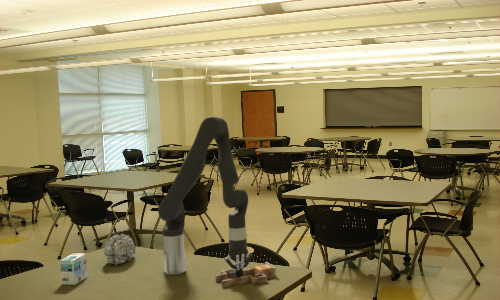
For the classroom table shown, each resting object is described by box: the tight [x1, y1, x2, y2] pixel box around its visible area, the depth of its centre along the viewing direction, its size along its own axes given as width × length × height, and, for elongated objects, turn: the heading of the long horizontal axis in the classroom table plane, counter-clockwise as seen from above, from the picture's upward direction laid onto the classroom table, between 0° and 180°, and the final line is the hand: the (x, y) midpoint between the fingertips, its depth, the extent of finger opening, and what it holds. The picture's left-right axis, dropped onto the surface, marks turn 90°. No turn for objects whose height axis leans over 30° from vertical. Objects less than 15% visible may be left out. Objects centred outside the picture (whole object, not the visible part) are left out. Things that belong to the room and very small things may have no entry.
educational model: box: [103, 233, 136, 266], centre depth 228 cm, size 14×20×15 cm
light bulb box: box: [59, 252, 89, 286], centre depth 204 cm, size 11×7×11 cm, turn 168°
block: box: [253, 264, 272, 276], centre depth 199 cm, size 6×5×4 cm
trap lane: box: [214, 261, 277, 288], centre depth 197 cm, size 24×16×4 cm, turn 113°
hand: (239, 277), depth 196 cm, fingers closed
